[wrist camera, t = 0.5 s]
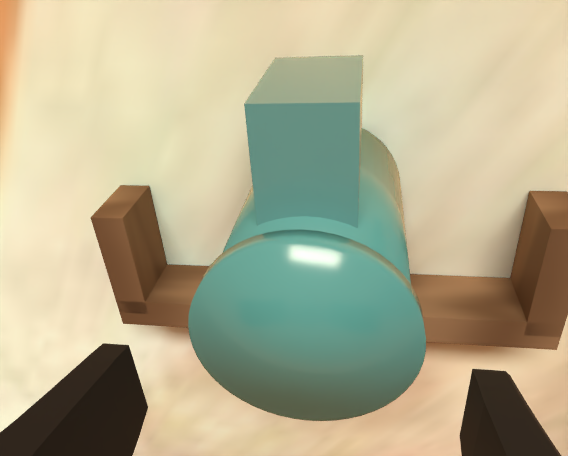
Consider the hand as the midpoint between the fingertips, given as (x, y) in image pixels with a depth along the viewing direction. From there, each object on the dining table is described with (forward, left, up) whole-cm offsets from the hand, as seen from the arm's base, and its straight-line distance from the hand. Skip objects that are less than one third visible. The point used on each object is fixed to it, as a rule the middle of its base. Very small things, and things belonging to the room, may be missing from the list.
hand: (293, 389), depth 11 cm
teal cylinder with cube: (0, -1, -9) cm, 9 cm away
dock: (0, +3, -9) cm, 10 cm away
